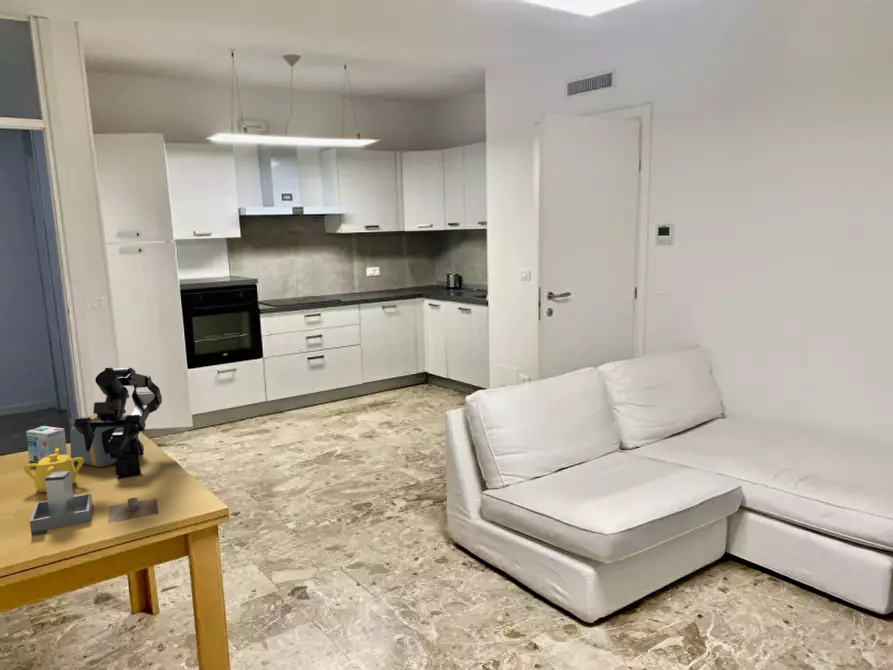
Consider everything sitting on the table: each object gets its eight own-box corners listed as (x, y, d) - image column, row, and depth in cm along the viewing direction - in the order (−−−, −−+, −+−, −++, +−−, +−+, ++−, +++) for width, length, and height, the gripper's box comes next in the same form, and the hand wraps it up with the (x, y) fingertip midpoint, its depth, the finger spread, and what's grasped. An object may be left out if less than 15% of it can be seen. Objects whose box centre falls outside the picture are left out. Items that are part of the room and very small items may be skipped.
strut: (75, 513, 177) (70, 471, 176) (67, 520, 173) (62, 476, 171) (58, 514, 177) (53, 472, 175) (50, 521, 173) (45, 478, 171)
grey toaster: (101, 469, 214) (96, 422, 211) (68, 463, 221) (63, 417, 218) (143, 454, 228) (139, 410, 226) (111, 448, 235) (107, 405, 233)
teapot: (20, 491, 197) (16, 458, 195) (61, 476, 209) (57, 445, 207) (50, 497, 191) (46, 464, 190) (90, 482, 203) (86, 450, 201)
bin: (92, 506, 184) (91, 493, 183) (90, 525, 172) (88, 510, 171) (38, 516, 178) (36, 502, 178) (31, 535, 166) (29, 521, 166)
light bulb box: (28, 461, 224) (24, 430, 222) (47, 454, 230) (43, 425, 228) (50, 464, 220) (46, 433, 218) (68, 458, 226) (65, 428, 224)
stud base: (156, 501, 187) (155, 487, 186) (158, 517, 176) (157, 502, 175) (109, 509, 182) (108, 496, 181) (108, 526, 171) (107, 512, 170)
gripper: (72, 391, 192) (58, 439, 183) (138, 388, 194) (127, 435, 185) (87, 410, 201) (74, 456, 192) (150, 407, 203) (140, 453, 194)
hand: (103, 450), depth 191 cm, fingers open, 9 cm apart
